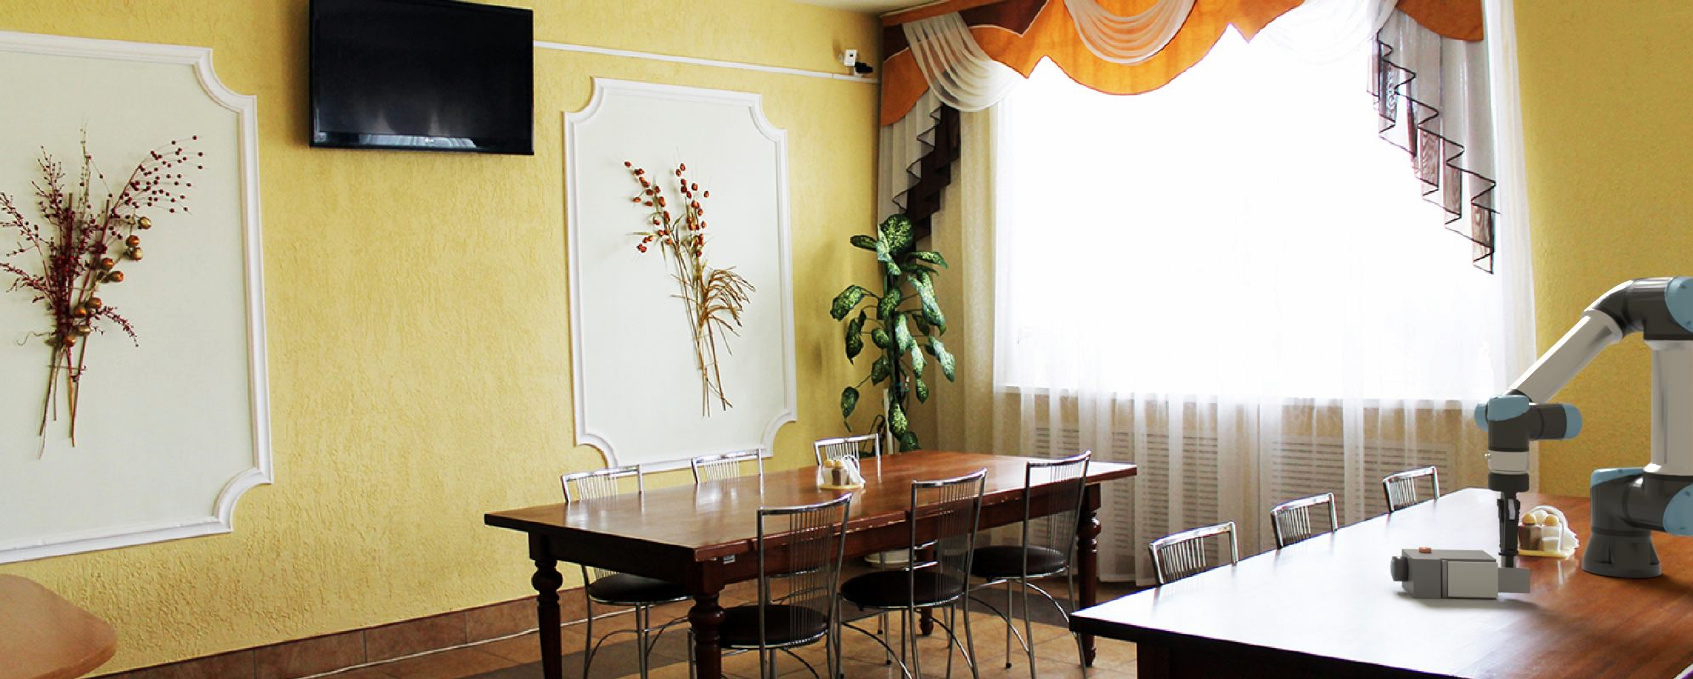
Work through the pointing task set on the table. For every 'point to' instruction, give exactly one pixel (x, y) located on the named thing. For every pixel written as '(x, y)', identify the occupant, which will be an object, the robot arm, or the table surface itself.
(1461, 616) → the table surface
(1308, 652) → the table surface
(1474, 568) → the side door
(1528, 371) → the robot arm
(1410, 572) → the housing
